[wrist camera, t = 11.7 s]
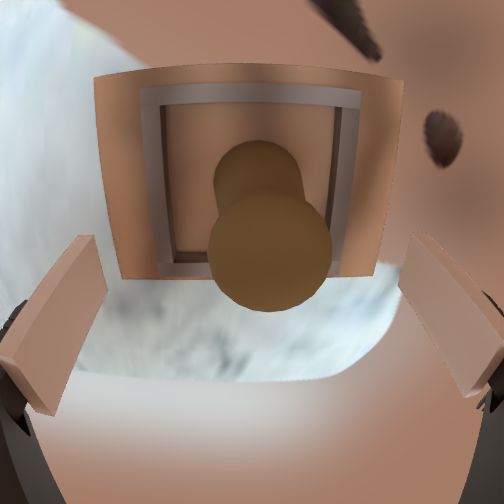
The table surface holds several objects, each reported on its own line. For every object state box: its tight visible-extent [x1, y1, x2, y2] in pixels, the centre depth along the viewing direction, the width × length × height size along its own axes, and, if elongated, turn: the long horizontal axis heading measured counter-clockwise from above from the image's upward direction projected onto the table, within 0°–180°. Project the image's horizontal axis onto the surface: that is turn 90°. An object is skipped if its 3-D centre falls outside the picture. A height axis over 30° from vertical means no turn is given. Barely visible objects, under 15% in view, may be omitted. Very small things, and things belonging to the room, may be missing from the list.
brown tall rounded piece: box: [207, 140, 332, 312], centre depth 17 cm, size 6×6×11 cm
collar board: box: [94, 63, 404, 280], centre depth 21 cm, size 21×16×2 cm
